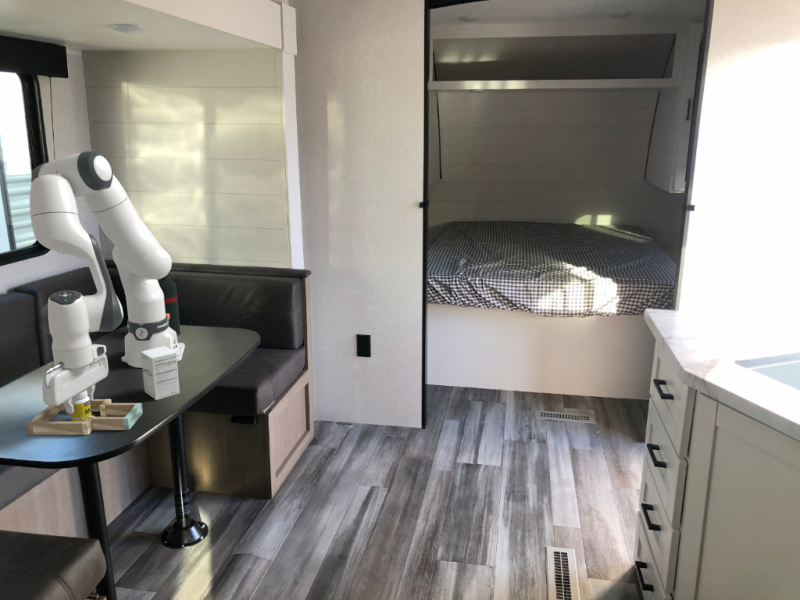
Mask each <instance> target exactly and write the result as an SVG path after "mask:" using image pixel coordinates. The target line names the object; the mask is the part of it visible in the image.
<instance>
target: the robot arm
mask: <svg viewBox="0 0 800 600" xmlns="http://www.w3.org/2000/svg"><path fill="white" fill-rule="evenodd" d="M113 171H114V170H113V168H112V163H111V162H110V161H109V159H108V158H107V157H106V156H104V155H103V154H102V153H101V152H98V151H92V150H87V151H82V152H79V153H73V154H68V155H63V156H60V157H59V158H56V159H54V160H51V161H49V162H43V163H41V164H39V165H38V166H36V167H35V168H34V169H33V171H32V172H31V179H30V182H31V183H30V190H29V214H30V222H31V227H32V232H33V234H34V238H35V239H36V241H38V243H39V244H40V245H41V246H43V247H44V248H47V249H48V250H51V251H53V252H57V253H60V254H64V255H69V256H72V257H76V258H78V259H81V260H82V261H83V262H85V263H86V265H88V268H89V270H90V273H91V276H92V279H93V282H94V285H95V288H96V293H94V294H92V295H91V294H90V295H82V293H81V292H79V291H77V290H69V289H68V290H61V291H57V292H54V293H52V294H51V295H50V296H49V297H48V300H47V303H46V304H45V306H43V308H42V309H41V315H42V319H43V327H44V331H45V333H47V334H48V335H50V336H51V338H52V342H51V349H52V356H53V364H54V365H53V366H52V367H49V368H47V370H46V372H45V373H44V375H43V379H42V385H41V386H42V388H41V389H42V401H43V403H44V404H45V405H47V406H49V405H52V406H58V405H60V404H61V403H62V404H63V405H64V406H65V407H66V411H65V412H66V413H67V414H70V415H71V414H72V413H74V412H75V411H76V405H73V404H72V403H71V401H72V397H73V396H75V395H77V394H78V393H80V392H82V391H83V390H85V389H86V390H87V396H88V397H89V399H90V402H91V401H93V399H94V392H95V389H96V384H97V383H98V382H101V381H102V380H104V379H105V378H107V377H108V374H109V362H108V357H107V354H106V353H107V346H106V345H104V344H99V343H98V344H97V343H92V342H93V341H92V340H91V339H92V338H91V337H90V333H94V332H99V333H100V332H113V331H115V330H116V329H117V328H118V327H119V326H120V325H121V324H122V322H123V320H124V310H123V305H122V304H121V301H120V300H119V297H118V295H117V293H116V291H115V289H114V286H113V282H112V280H111V276H110V273H109V270H108V268H107V264H106V261H105V259H104V255H103V253H102V251H101V248H100V245H99V243H98V241H97V239H96V238H95V236H94V235H93V234H91V233H89V232H87V231H86V230H85V229H84V227H83V226H82V224H81V220H80V217H79V210H78V205H77V201H76V198H78V197H82V196H83V197H84V199H85V201H86V204H87V206H88V207H89V209H90V211H91V213H92V214H93V216H94V218H95V220H96V222H97V224H98V225H99V226H100V228H101V229H102V232H103V233H104V234H105V236H106V238H108V239H109V240H110V241H111V242H112V243H113V245H114V246H113V249H112V255H111V256H112V259H113V260H112V261H113V262H114V264H115V265H116V269H117V270H118V274H119V278H120V281H121V284H122V287H123V290H124V291H123V292H124V294H125V301H126V308H127V317H128V319H127V320H126V321H127V324H126V325H127V326H126V327H127V331H128V333H127V334H126V335H125V337H124V351H125V353H124V355H123V356H122V357H121V361H122V362H125V363H127V365H129V366H131V367H133V368H142V359H141V352H142V351H146V350H150V349H154V348H158V347H162V346H165V347H167V348H169V349H171V350H173V351H174V352H176V355H177V362H180V361H181V360H182V357H183V354H184V351H185V348H186V345H185V343H184V342H178V335H177V334H176V332H175V331H174V330H173V329H171V328H170V327H169V323H168V322H169V321H168V320H169V318H170V317H169V316H170V315H169V313H168V314H165V303H164V294H163V291H162V289H161V288H160V286H159V283H158V280H160V279H161V278H163V277H165V276H166V275H167V276H168V274H169V273H170V271H171V270H172V265H173V260H172V257H171V255H170V254H169V253H168V252H167V250H166V249H164V247H163V246H162V245H161V244H160V242H159V241H158V239H157V238H156V237H155V236H154V234H153V233H152V231H151V230H150V229H149V227H148V226H147V225H146V224H145V223H144V221H143V220H142V219H141V216H140V215H139V214H138V213H139V212H138V211H137V209H136V208H135V206H134V205H133V203H132V201H131V199H130V197H129V195H128V193H127V191H126V190H125V189H124V187H123V185H122V184H121V182H120V181H119V179H118V178H117V177H116V176H115V175H114V172H113Z"/></svg>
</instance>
